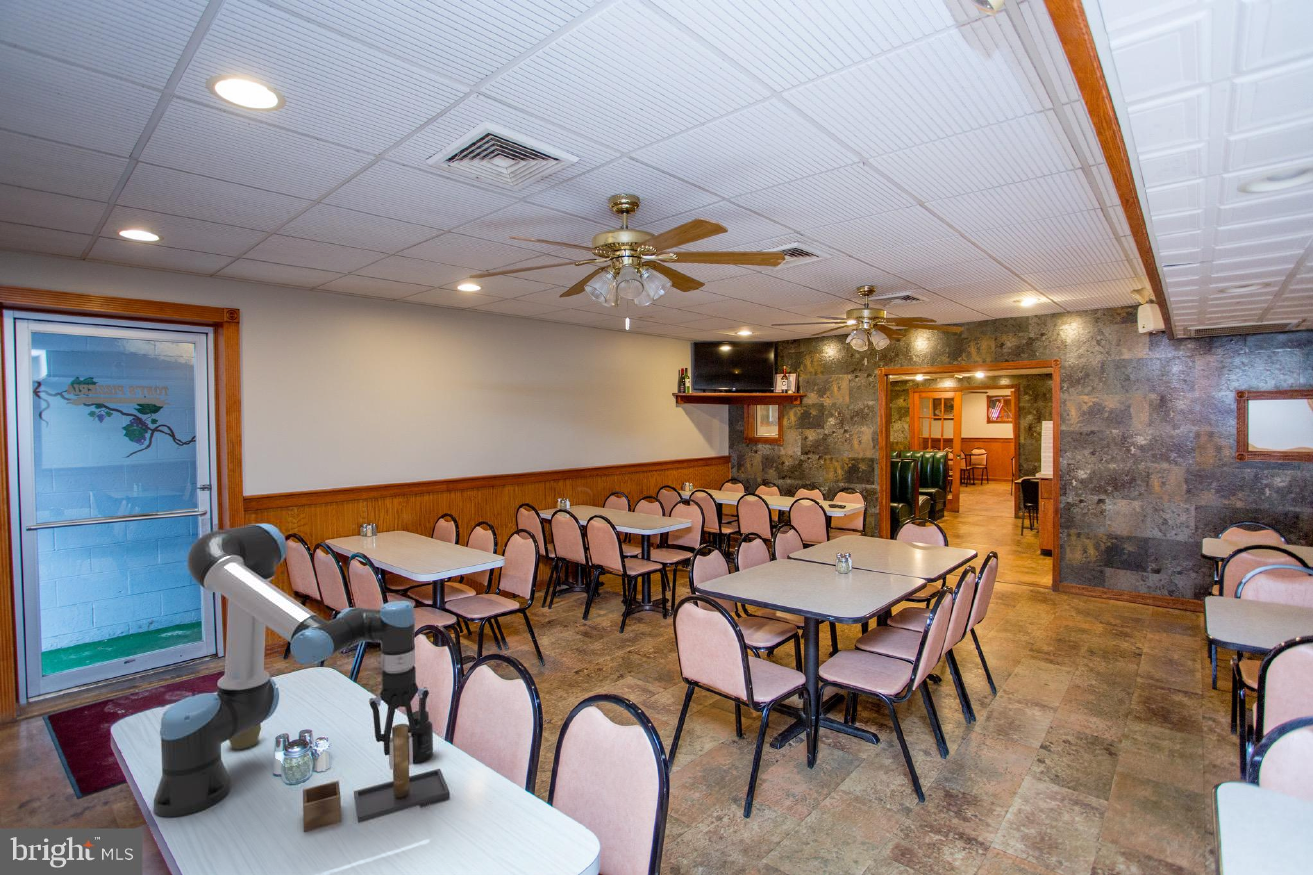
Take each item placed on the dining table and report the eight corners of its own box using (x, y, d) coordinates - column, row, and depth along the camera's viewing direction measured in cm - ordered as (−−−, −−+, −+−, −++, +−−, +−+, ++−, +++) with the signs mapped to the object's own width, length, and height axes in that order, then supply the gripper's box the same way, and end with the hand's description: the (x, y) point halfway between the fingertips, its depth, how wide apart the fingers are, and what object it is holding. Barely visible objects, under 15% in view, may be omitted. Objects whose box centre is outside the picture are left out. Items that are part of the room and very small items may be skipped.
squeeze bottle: (268, 738, 186) (266, 676, 185) (247, 752, 177) (245, 688, 177) (242, 737, 186) (240, 675, 186) (220, 751, 178) (218, 687, 178)
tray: (358, 825, 144) (357, 817, 144) (354, 798, 155) (353, 791, 155) (449, 798, 154) (449, 791, 154) (440, 775, 165) (439, 768, 164)
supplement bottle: (400, 760, 172) (399, 716, 172) (420, 749, 178) (419, 706, 178) (419, 766, 169) (418, 721, 169) (438, 754, 175) (437, 711, 175)
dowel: (394, 798, 152) (393, 732, 152) (392, 791, 155) (391, 725, 155) (410, 794, 154) (409, 728, 153) (408, 787, 157) (407, 722, 156)
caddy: (303, 835, 141) (303, 805, 141) (303, 817, 148) (302, 789, 147) (341, 824, 145) (340, 795, 145) (339, 807, 151) (338, 780, 151)
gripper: (362, 680, 146) (364, 781, 147) (437, 665, 155) (439, 762, 155) (359, 669, 153) (361, 766, 153) (432, 656, 161) (434, 748, 162)
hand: (400, 764), depth 154 cm, fingers closed on dowel, 3 cm apart
